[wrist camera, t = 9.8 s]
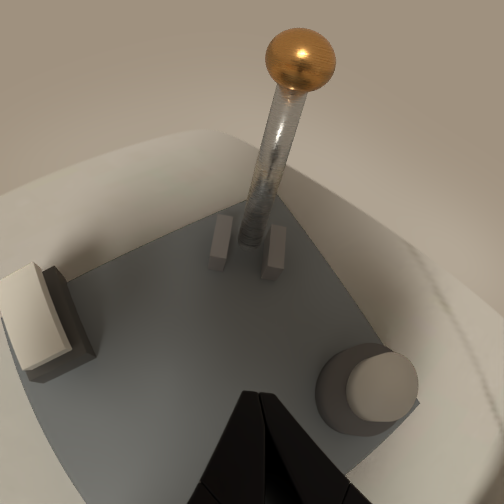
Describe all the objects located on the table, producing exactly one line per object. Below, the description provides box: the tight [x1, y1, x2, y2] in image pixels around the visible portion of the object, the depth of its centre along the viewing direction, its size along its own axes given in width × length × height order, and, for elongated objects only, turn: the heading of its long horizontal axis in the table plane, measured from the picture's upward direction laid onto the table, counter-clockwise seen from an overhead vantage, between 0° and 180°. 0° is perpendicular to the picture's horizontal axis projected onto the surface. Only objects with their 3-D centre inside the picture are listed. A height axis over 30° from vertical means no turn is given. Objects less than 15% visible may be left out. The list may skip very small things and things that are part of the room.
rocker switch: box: [0, 262, 72, 370], centre depth 11 cm, size 4×2×1 cm, turn 32°
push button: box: [346, 352, 418, 422], centre depth 12 cm, size 3×3×1 cm
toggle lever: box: [238, 28, 336, 251], centre depth 13 cm, size 3×3×11 cm
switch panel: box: [1, 194, 420, 504], centre depth 14 cm, size 16×18×3 cm
